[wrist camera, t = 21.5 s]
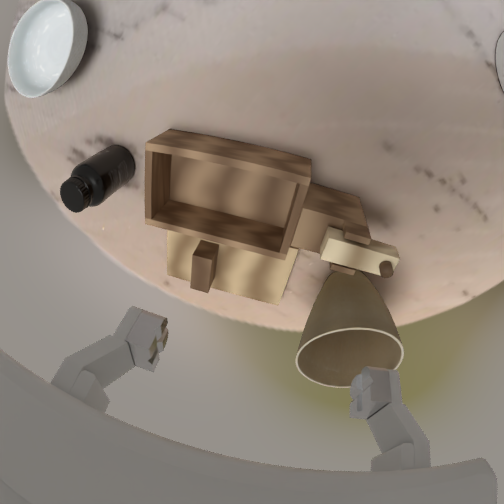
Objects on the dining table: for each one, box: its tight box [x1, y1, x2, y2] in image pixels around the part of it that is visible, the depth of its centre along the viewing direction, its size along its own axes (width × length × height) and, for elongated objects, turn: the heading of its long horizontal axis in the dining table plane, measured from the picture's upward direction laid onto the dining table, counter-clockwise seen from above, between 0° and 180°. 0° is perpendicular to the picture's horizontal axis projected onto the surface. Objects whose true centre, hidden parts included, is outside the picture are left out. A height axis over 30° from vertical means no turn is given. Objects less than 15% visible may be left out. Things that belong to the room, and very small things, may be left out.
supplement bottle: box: [60, 145, 134, 213], centre depth 37 cm, size 7×7×12 cm
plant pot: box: [296, 270, 404, 388], centre depth 41 cm, size 15×15×16 cm
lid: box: [167, 230, 299, 305], centre depth 46 cm, size 21×13×6 cm, turn 79°
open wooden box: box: [145, 129, 371, 275], centre depth 36 cm, size 28×12×11 cm, turn 79°
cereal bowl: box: [8, 0, 88, 98], centre depth 27 cm, size 17×17×7 cm
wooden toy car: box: [320, 227, 400, 278], centre depth 32 cm, size 9×3×4 cm, turn 79°
